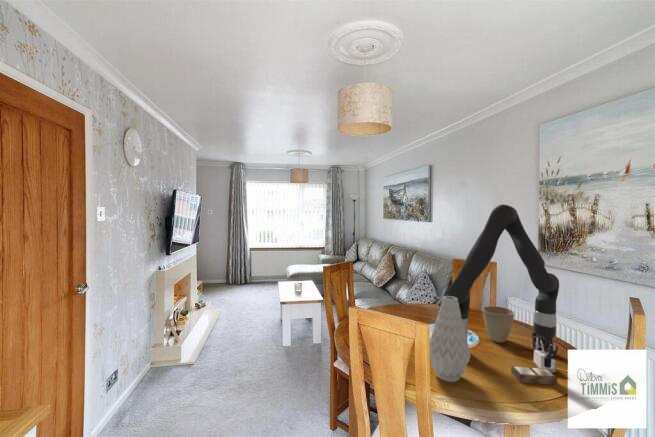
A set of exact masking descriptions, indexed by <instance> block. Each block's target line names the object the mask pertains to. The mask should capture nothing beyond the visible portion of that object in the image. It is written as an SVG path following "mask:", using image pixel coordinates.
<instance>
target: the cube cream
mask: <svg viewBox="0 0 655 437" xmlns="http://www.w3.org/2000/svg"><path fill="white" fill-rule="evenodd" d="M547 355H548V352H547ZM552 356H553V354H552ZM544 358H545V356H544V352H543V351H542V350H534V349H533V363H534V364H536V366H537V365H538V366H539V367H540V368H546V367H545V366H544ZM554 360H555V359H551V367H550V369H554Z"/></svg>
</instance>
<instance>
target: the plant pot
mask: <svg viewBox="0 0 655 437" xmlns="http://www.w3.org/2000/svg"><path fill="white" fill-rule="evenodd" d="M482 314H483V316H482V317H483V322H484V325H485V329H486V332H487V335H488V337H489V340H490V341H493V342H496V343H505V342H507V339H508V337H509V335H510V332H511V329H512V328H513V327H512V326H513V322H514V318H515V311H514V310H512V309H510V308H507V307H503V306H498V305H497V306H496V305H486V306H483V307H482Z"/></svg>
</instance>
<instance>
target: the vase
mask: <svg viewBox="0 0 655 437" xmlns="http://www.w3.org/2000/svg"><path fill="white" fill-rule="evenodd" d="M429 341H430V356H429V357H430V363H431V366H432V368H433V370H434V372H435V375H436V377H437V378H439V379H440V380H442V381H444V382H448V383H456V382H459V380H460V379H461V377H462V375H464V373H465V370H466V369H467V365H468V363H469V362H470V358H471V352H470V346H469V344H468V336H467V337H466V333H465V330H464V325H463V322H462V318H461V312H460V308H459V303H458V298H456V297H452V296H447V295H444V296H442V300H441V304H440V306H439V311H438V313H437V317H436V320H435V322H434V325H433V329H432V333H431V335H430V338H429Z"/></svg>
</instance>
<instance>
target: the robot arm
mask: <svg viewBox="0 0 655 437" xmlns="http://www.w3.org/2000/svg"><path fill="white" fill-rule="evenodd" d="M504 231H506V232H507V233H508V235H509V237H510V238H511V241H512V243H513V245H514V248H515V250H516V252H517V254H518V256H519V258H520V260H521V261H522V263H523V265H524V266H525V268H526V270H527V273H528V275H529V279H530V281H531V283H532V285H533V286H534V288H536V290H538V294H537V296H536V297H535V301H534V313H533V332H532V333H531V338H532V347H533V348H534V347H535V350H542V351H543V352H544V356H545V358H544V366H545V367H546V368H550V367H551V359H554V360H556V358H557V354H558V350H559V347H558V345H555V344H554V342H553V339H554V338H555V337H556V336H557V300H558V295H559V290H560V281H559V280H560V279H559V278H558V277H557V276H556V275H555V274H553V273H552V272H548V271H547V269H546V267H545V265H546V263H545V260H544V258H543V257H542V255H541V253H539V251H538V249H537V248H536V246H535V244H534V243H533V242H532V240H531V238H530V237H529V235H528V234H527V232H526V230H525V227H524V226H523V223H522V221H521V218H520V216H519V214H518V211H517V209H515V208H514V207H513V206H511V205H509V204H498V205H496V206H495V207H494V208H493V209H492V210H491V212H490V214H489V216H488V219H487V220H486V224H485V226H484V228H483V229H482V232H480V233H479V236H478V238H477V239H476V240H475V242H474V244H473V246H472V247H471V249H470V251H469V253H468V254H467V256H466V258H465V260H464V262H463V264H462V266H461V268H460V271H459V273H458V275H456V278H454V280H453V282H452V283H451V284H450V286H448V288H447V290H446V296H452V297H456V298H458V303H459V308H460V312H461V318H462V322H463V325H464V330H465V333H466V337H467V338H468V337H469V336H468V334H469V333H468V331H469V328H468V327H469V313H470V304H471V288H472V286H473V285H474V283H475V281H476V280H478V279H479V277H480V276H481V275H482V273H483V272H484V271H485V270H486V268H487V267H488V265H489V264H490V262H491V260H492V259H493V257H494V254H495V253H496V250H497V245H498V241H499V239H500V237H501V235H502V234H503V233H504ZM535 342H536V343H535ZM545 349H549V350H545ZM547 352H548V355H547ZM552 355H553V356H552Z"/></svg>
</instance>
